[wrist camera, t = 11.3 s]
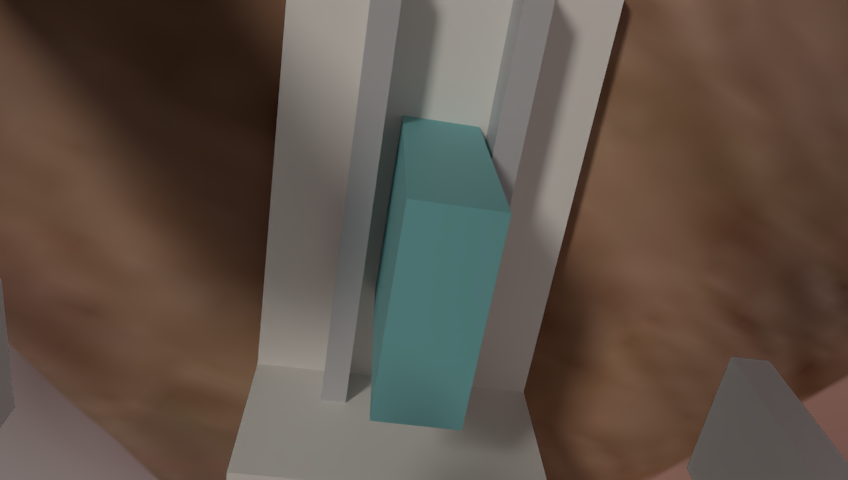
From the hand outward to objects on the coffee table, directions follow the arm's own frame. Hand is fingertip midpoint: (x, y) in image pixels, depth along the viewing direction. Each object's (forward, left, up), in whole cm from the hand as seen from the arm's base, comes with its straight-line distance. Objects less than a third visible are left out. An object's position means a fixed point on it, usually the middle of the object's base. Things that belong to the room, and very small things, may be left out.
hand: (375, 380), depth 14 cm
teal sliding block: (+5, +3, -21) cm, 22 cm away
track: (+5, +2, -22) cm, 23 cm away
